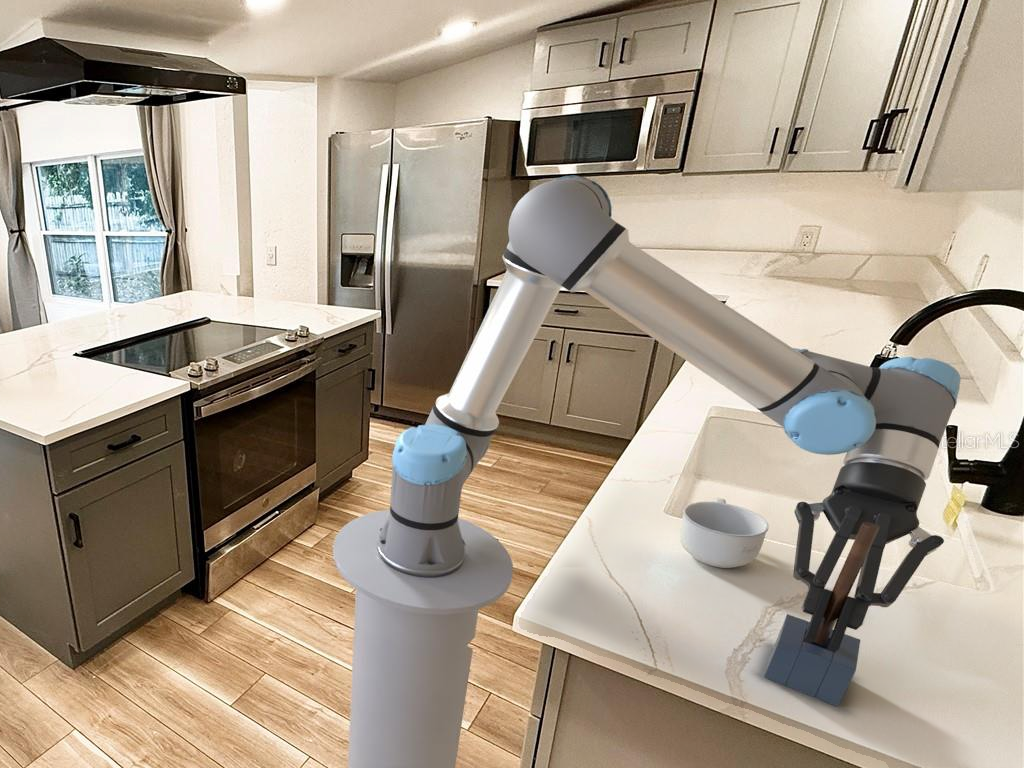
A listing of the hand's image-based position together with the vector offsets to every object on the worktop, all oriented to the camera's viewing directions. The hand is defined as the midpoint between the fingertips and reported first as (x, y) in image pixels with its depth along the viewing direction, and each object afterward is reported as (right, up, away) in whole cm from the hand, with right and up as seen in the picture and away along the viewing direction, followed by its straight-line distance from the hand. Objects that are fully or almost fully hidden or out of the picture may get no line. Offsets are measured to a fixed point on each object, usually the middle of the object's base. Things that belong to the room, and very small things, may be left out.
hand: (820, 644), depth 73 cm
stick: (+3, -1, +3) cm, 5 cm away
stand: (+3, -6, +6) cm, 9 cm away
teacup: (+11, +5, +30) cm, 33 cm away
